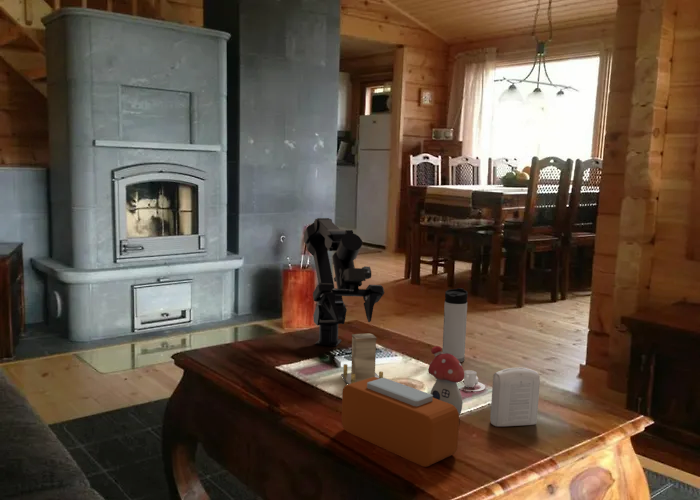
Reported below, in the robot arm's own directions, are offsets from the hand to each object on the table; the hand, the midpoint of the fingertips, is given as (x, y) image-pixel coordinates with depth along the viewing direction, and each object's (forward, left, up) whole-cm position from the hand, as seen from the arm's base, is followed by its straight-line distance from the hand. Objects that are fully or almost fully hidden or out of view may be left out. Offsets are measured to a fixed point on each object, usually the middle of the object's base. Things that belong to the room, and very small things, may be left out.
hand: (353, 321), depth 175 cm
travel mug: (-18, +25, -13) cm, 34 cm away
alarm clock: (+41, +19, -14) cm, 47 cm away
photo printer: (+24, +42, -13) cm, 50 cm away
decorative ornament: (+24, +27, -13) cm, 38 cm away
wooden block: (+8, +5, -12) cm, 16 cm away
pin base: (+8, +5, -13) cm, 16 cm away
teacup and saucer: (+2, +34, -14) cm, 37 cm away
